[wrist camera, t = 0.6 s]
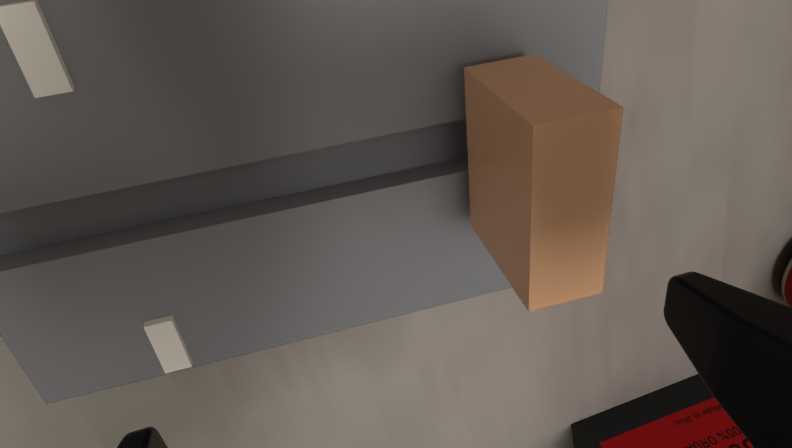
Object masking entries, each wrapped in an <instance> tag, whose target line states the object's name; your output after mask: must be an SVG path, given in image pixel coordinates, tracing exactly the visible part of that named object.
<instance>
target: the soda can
mask: <svg viewBox="0 0 792 448" xmlns="http://www.w3.org/2000/svg"><path fill="white" fill-rule="evenodd" d="M781 289H782V295H783V298H784V300H785V301H786V303H787V304H788V305H789V306H791V307H792V256H791V258H790V260H789V263H788V265H787V267H786V269H785V272H784V275H783V278H782V285H781Z"/></svg>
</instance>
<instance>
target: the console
mask: <svg viewBox="0 0 792 448" xmlns="http://www.w3.org/2000/svg"><path fill="white" fill-rule="evenodd" d="M607 4H608V0H0V335H1V337H2V338H3V340H4V341H5V343H6V344H7V346H8V347H9V349H10V350H11V352H12V353H13V355H14V356H15V358H16V359H17V361H18V362H19V364H20V365H21V367H22V368H23V370H24V371H25V373H26V374H27V376H28V377H29V379H30V380H31V382H32V383H33V385H34V386H35V388H36V389H37V391H38V392H39V394H40V395H41V397H42V398H43V400H44V401H45V403H46V404H48V403H52V402H56V401H60V400H64V399H68V398H72V397H76V396H80V395H84V394H88V393H92V392H96V391H100V390H104V389H108V388H112V387H116V386H120V385H124V384H128V383H132V382H136V381H140V380H144V379H148V378H152V377H156V376H160V375H164V374H168V373H172V372H176V371H180V370H184V369H188V368H192V367H196V366H200V365H204V364H208V363H212V362H216V361H220V360H224V359H228V358H232V357H236V356H240V355H244V354H248V353H252V352H256V351H260V350H264V349H268V348H272V347H276V346H280V345H284V344H288V343H292V342H296V341H300V340H304V339H308V338H312V337H316V336H320V335H324V334H328V333H332V332H336V331H340V330H344V329H348V328H352V327H356V326H360V325H364V324H368V323H372V322H376V321H380V320H384V319H388V318H392V317H396V316H400V315H404V314H408V313H412V312H416V311H420V310H424V309H428V308H432V307H436V306H440V305H444V304H448V303H452V302H456V301H459V300H463V299H467V298H471V297H475V296H479V295H483V294H487V293H491V292H495V291H499V290H503V289H507V288H511V287H512V286H511V285H510V283H509V282H508V280H507V279H506V277H505V276H504V274H503V273H502V271H501V270H500V268H499V267H498V265H497V264H496V262H495V261H494V259H493V258H492V256H491V255H490V253H489V252H488V251H487V249H486V248H485V246H484V245H483V243H482V242H481V240H480V239H479V237H478V236H477V234H476V233H475V231H474V230H473V228H472V227H471V217H470V194H469V171H468V149H467V126H466V103H465V80H464V67H469V66H474V65H479V64H485V63H490V62H495V61H500V60H506V59H511V58H516V57H522V56H527V55H532V54H536V55H538V56H539V57H541V58H543V59H544V60H546V61H547V62H549V63H551V64H552V65H554V66H556V67H557V68H559V69H561V70H562V71H564V72H566V73H567V74H569V75H571V76H572V77H574V78H576V79H577V80H579V81H581V82H582V83H584V84H586V85H587V86H589V87H590V88H592V89H594V90H595V91H597V92H600V82H601V71H602V60H603V49H604V38H605V26H606V15H607Z"/></svg>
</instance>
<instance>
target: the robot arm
mask: <svg viewBox="0 0 792 448" xmlns="http://www.w3.org/2000/svg"><path fill="white" fill-rule="evenodd" d="M664 317H665V320H666V322H667V324H668V326H669V328H670V329H671V331H672V332H673V334H674V336H675V337H676V339H677V340H678V342H679V343H680V345H681V347H682V348H683V350H684V351H685V353H686V354H687V356H688V357H689V359H690V361H691V362H692V364H693V365H694V367H695V368H696V370H697V372H698V373H699V375H700V376H701V378H702V379H703V381H704V383H705V384H706V386H707V387H708V389H709V390H710V391H711V393H712V394H713V396H714V397H715V398H716V400H717V401H718V402H719V404H720V405H721V406H722V408H723V409H724V410H725V412H726V413H727V414H728V415H729V417H730V418H731V419H732V420H733V422H734V423H735V424H736V425H737V427H738V428H739V429H740V430H741V432H742V433H743V434H744V436H745V437H746V438H747V439H748V441H749V442H750V443H751V444H752V446H753V447H754V448H792V308H791V307H788V306H786V305H783V304H780V303H778V302H775V301H772V300H770V299H767V298H764V297H762V296H759V295H756V294H754V293H751V292H748V291H745V290H743V289H740V288H737V287H735V286H732V285H729V284H727V283H724V282H721V281H719V280H716V279H713V278H711V277H708V276H705V275H702V274H700V273H697V272H687V273H684V274H680V275H677V276H673V277H672V278H671V279H670V280H669V282H668V286H667V293H666V299H665V305H664ZM117 448H168V447H167V446H166V444H165V442H164V441H163V439H162V437H161V436H160V434H159V432H158V431H157V430H156V429H155V428H153V427H148V428H144V429H141V430H137V431H134V432H131V433H128V434H127V435H126V436H125V437H124V438H123V439H122V441H121V442H120V444H119V445H118V447H117Z"/></svg>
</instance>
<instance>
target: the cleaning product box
mask: <svg viewBox="0 0 792 448" xmlns="http://www.w3.org/2000/svg"><path fill="white" fill-rule="evenodd" d="M571 427H572V434H573V442H574V448H754V447H753V446H752V444H751V443H750V442H749V441H748V439H747V438H746V437H745V436H744V434H743V433H742V432H741V430H740V429H739V428H738V427H737V425H736V424H735V423H734V422H733V420H732V419H731V418H730V417H729V415H728V414H727V413H726V412H725V410H724V409H723V408H722V406H721V405H720V404H719V402H718V401H717V400H716V398H715V397H714V396H713V394H712V393H711V391H710V390H709V389H708V387H707V386H706V384H705V383H704V381H703V379H702V378H701V376H700V375H699V374H697V375H695V376H692V377H690V378H687V379H684V380H682V381H679V382H677V383H674V384H672V385H669V386H667V387H664V388H662V389H659V390H657V391H654V392H651V393H649V394H646V395H644V396H641V397H639V398H636V399H634V400H631V401H629V402H626V403H623V404H621V405H618V406H616V407H613V408H611V409H608V410H606V411H603V412H601V413H598V414H596V415H593V416H590V417H588V418H585V419H583V420H580V421H578V422H575V423H573V424H571Z"/></svg>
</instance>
